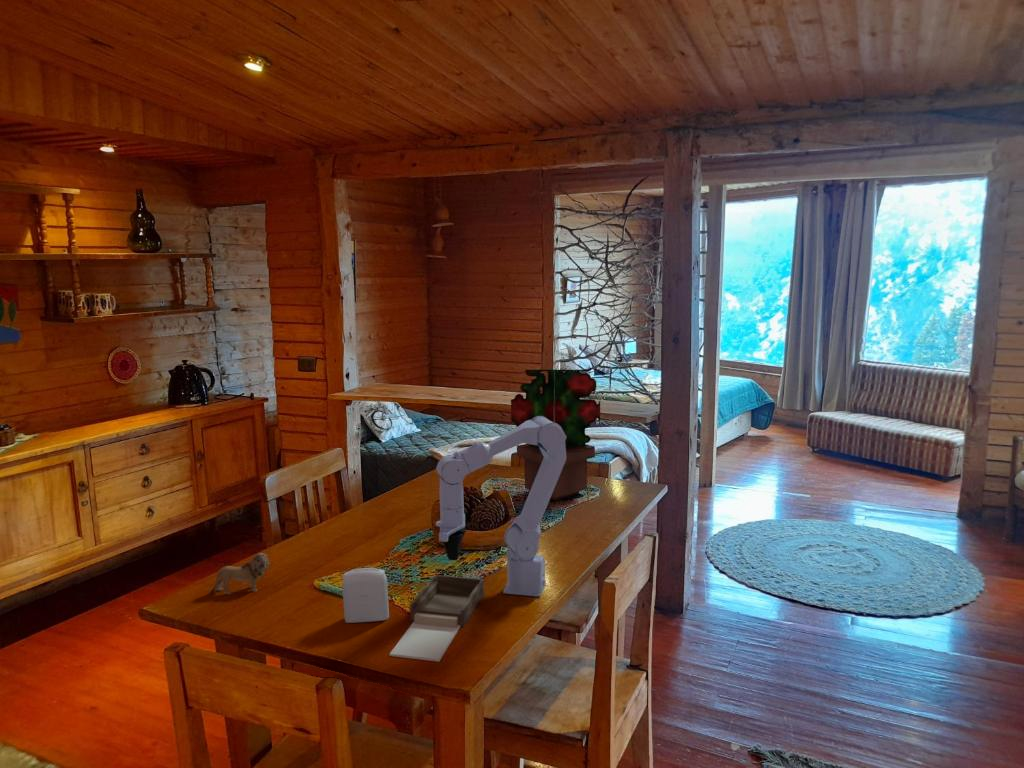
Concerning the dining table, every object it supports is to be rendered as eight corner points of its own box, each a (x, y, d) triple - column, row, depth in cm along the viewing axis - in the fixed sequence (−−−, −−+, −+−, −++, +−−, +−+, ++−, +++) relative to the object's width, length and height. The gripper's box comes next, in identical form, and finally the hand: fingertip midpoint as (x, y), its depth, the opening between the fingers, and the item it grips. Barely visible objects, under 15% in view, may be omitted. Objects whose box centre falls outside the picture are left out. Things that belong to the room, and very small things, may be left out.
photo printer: (343, 624, 168) (340, 574, 166) (345, 616, 172) (342, 566, 170) (388, 622, 169) (386, 571, 167) (389, 613, 173) (387, 564, 171)
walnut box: (435, 589, 185) (434, 574, 184) (484, 594, 182) (484, 579, 181) (410, 621, 169) (409, 605, 168) (464, 626, 166) (463, 610, 165)
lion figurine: (270, 581, 191) (268, 548, 190) (271, 589, 187) (269, 556, 185) (210, 591, 186) (207, 557, 185) (209, 599, 181) (206, 565, 180)
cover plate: (414, 624, 168) (414, 612, 168) (460, 629, 166) (460, 616, 165) (389, 658, 154) (389, 644, 154) (439, 663, 152) (438, 650, 151)
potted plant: (557, 481, 276) (556, 363, 269) (599, 494, 259) (600, 369, 252) (512, 493, 262) (510, 369, 255) (554, 508, 246) (553, 376, 238)
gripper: (445, 495, 184) (447, 546, 186) (425, 514, 170) (427, 569, 172) (472, 497, 182) (473, 548, 184) (454, 516, 168) (456, 572, 170)
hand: (453, 559), depth 178 cm, fingers closed
